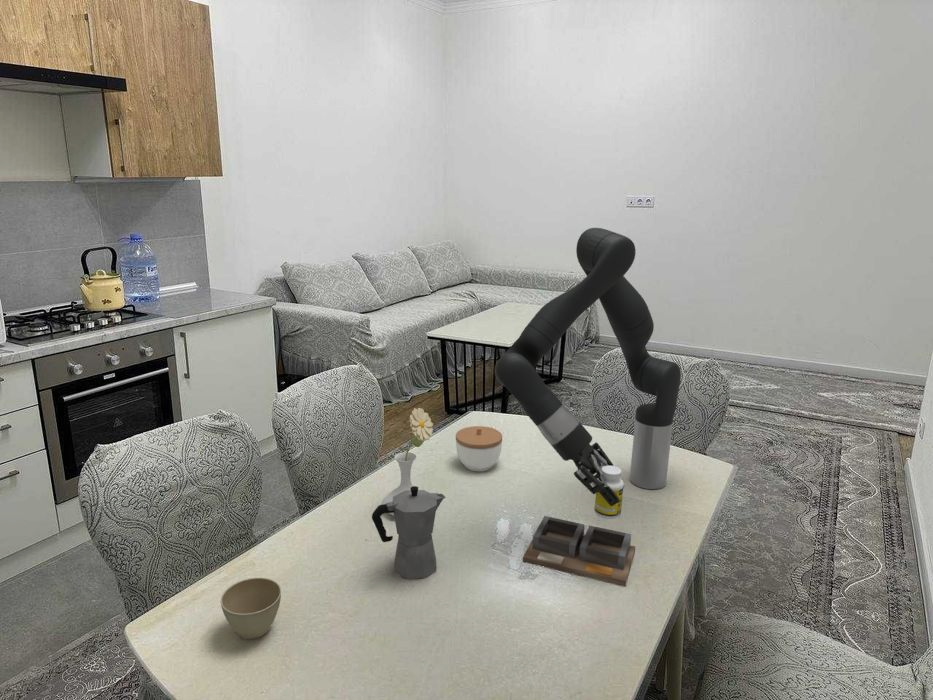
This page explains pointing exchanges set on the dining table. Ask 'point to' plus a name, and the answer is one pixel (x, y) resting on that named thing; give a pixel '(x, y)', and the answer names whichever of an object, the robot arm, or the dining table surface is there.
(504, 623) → the dining table surface
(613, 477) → the supplement bottle
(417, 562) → the coffeepot
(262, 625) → the beige bowl
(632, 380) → the robot arm
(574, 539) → the socket board
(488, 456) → the lidded bowl
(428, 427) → the flower in vase
